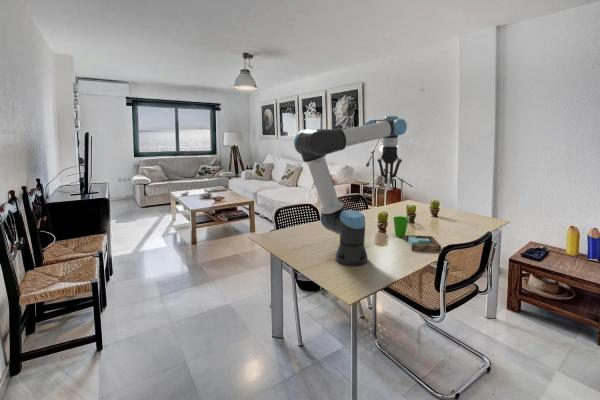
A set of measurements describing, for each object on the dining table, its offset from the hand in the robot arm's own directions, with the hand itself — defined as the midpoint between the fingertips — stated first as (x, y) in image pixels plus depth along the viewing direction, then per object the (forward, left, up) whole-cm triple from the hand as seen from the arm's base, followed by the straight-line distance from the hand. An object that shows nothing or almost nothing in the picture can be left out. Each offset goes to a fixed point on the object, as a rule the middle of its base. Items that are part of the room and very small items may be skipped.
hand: (387, 189), depth 178 cm
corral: (+18, -6, -29) cm, 35 cm away
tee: (+17, -6, -30) cm, 35 cm away
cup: (+10, +9, -30) cm, 33 cm away
